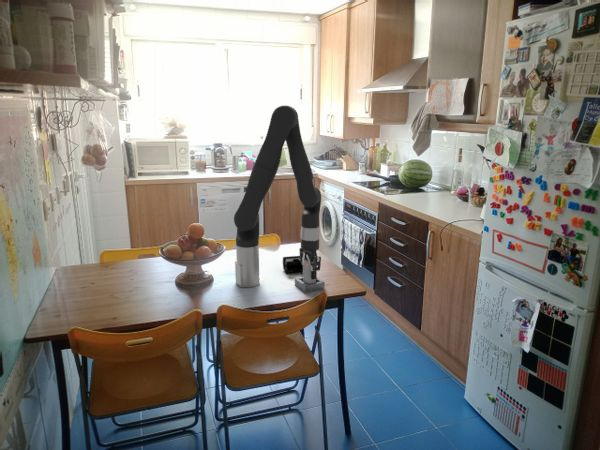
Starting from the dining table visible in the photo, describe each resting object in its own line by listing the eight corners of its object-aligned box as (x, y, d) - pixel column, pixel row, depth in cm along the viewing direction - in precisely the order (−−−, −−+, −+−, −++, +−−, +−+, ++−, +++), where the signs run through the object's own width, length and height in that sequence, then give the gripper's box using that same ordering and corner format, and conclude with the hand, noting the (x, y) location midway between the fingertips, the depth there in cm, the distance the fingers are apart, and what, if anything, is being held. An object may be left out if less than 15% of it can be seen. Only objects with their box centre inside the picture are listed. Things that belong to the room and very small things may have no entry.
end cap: (303, 267, 205) (304, 253, 203) (307, 273, 199) (307, 258, 197) (282, 269, 203) (282, 255, 201) (285, 274, 197) (285, 260, 195)
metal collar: (305, 293, 177) (305, 286, 177) (294, 285, 185) (294, 278, 184) (324, 288, 182) (324, 282, 181) (313, 281, 189) (313, 274, 188)
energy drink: (318, 286, 184) (318, 258, 181) (311, 290, 180) (312, 262, 177) (307, 283, 187) (307, 256, 184) (300, 287, 182) (300, 260, 179)
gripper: (293, 233, 182) (293, 271, 186) (310, 243, 170) (310, 284, 174) (309, 231, 185) (309, 269, 190) (327, 240, 173) (326, 280, 178)
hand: (309, 276), depth 182 cm, fingers open, 6 cm apart
